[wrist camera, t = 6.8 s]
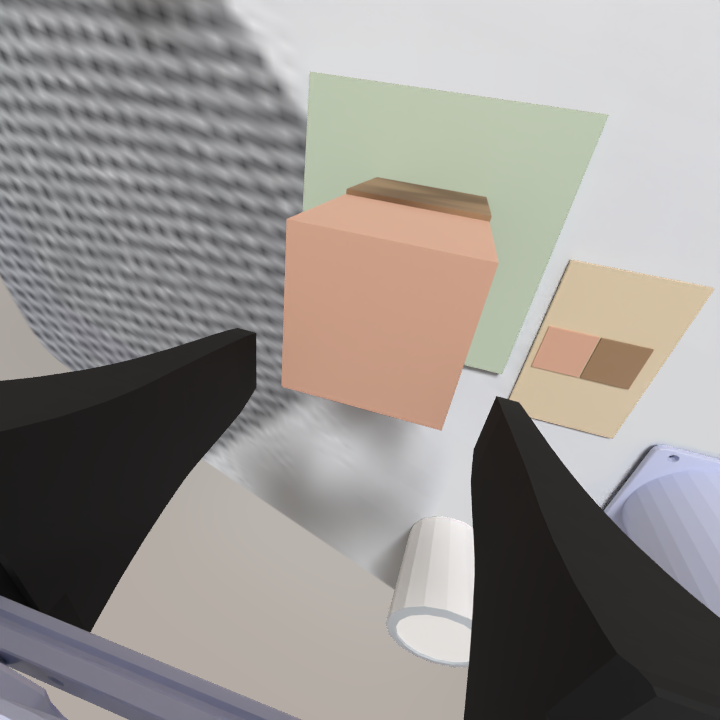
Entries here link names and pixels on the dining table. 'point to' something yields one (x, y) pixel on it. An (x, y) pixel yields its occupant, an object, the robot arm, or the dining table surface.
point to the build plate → (459, 173)
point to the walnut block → (424, 197)
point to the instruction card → (603, 345)
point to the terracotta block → (383, 304)
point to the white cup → (435, 592)
